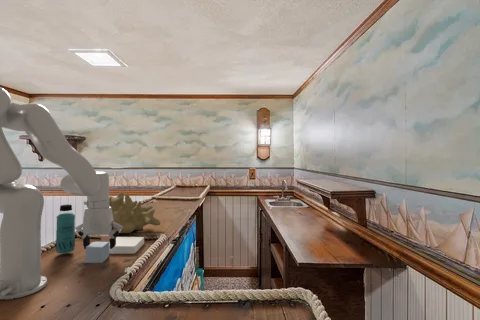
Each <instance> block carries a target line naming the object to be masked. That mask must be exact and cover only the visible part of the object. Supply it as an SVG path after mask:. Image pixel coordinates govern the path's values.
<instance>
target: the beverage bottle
mask: <svg viewBox="0 0 480 320" xmlns="http://www.w3.org/2000/svg"><path fill="white" fill-rule="evenodd" d="M72 210H73V205H72V204H62V205H60V206H59V212H60V213H59V214H58V215H57V216H56V230H55V232H56V233H55V235H56V236H55V251H56V253H57V254H63V255H64V254H68V253H71V252H73V251H75V248H76V241H75V240H76V239H75V237H76V223H75V221H76V220H75V219H76V215H75V214H74V213H73V212H72ZM70 211H71V212H70Z"/></svg>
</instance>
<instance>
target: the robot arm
mask: <svg viewBox="0 0 480 320" xmlns="http://www.w3.org/2000/svg"><path fill="white" fill-rule="evenodd" d="M3 128H4V129H8V130H11V131H15V132H24V133H25V134H26V135H27V136H28V138H29V139H30V140H31V143H32V144H33V145H34V147H35V148H36V150H37V151H38V153H39V155H41V156H42V157H43V158H44V159H46V160H47V161H49V162H51V163H52V164H54V165H56V166H58V167H60V168H61V169H63V170H64V171H65V172H67V173H68V174H66V175H65V176H63V177H62V179H61V180H60V188H61V190H62V191H63V192H65V193H66V194H69V195H76V196H84V197H86V200H85V201H84V202H83V205H86V208H84V211H83V220H82V223H81V224H79V225H77V226H75V231H76V232H77V234H78V235H79V236H80V237H81V239H82V244H83V245H82V246H83V249H84V250H86V247H87V246H88V245H90V244H91V237H90V236H101V235H107V234H108V235H109V236H110V237H111V238H110V249H112V248H113V247H115V245H116V237H118V235H120V234H119V233H120V231H121V229H122V227H123V226H121V225H119V224H117V223H115V222H114V218H113V212H112V208H111V207H110V206H109V197H110V180H109V179H110V178H109V176H110V175H109V174H108V173H107V172H106V171H96V170H95V169H94V166H93V165H92V164H91V163H90V161H89V160H88V159H86V157H85V156H84V155H82V154H81V153H80V152H79V151H78V150H77V149H76V148H75V147H73V146H72V145H71V144H70V143H69V141H68V139H67V138H66V136H65V135H64V133H63V131H62V130H61V129H60V127H59V125H58V124H57V122H56V120H55V119H54V117H53V116H52V114H51V112H50V111H49V109H48V108H46V107H45V106H44V105H42V104H38V103H24V104H23V103H22V104H20V103H16V102H13V101H12V98H11V95H10V93H9V92H8V91H7V90H6V89H4V88H3V87H1V86H0V214H2V220H1V224H0V300H3V299H4V300H14V298H15V299H19V298H22V297H26V296H29V295H32V294H34V293H36V292H37V293H38V292H39V291H40V290H42V289H44V288H45V287H46V286H47V284H48V279H47V277H46V276H43V275H42V234H41V233H42V232H41V231H42V227H41V226H42V215H43V212H44V211H43V210H44V207H45V206H44V205H45V198H44V195H43V193H42V191H41V190H40V189H39V188H37V187H35V186H33V185H31V184H26V183H17V181H18V180H19V179H20V178H21V176H22V173H23V167H22V164H21V161H20V160H19V158H18V156H17V155H16V153H15V151H14V150H13V148H12V146H11V145H10V143H9V141H8V140H7V138H6V135H5V134H4V131H3ZM114 227H115V228H117V231H116V232H115V231H114Z"/></svg>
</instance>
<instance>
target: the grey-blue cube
mask: <svg viewBox="0 0 480 320" xmlns="http://www.w3.org/2000/svg"><path fill="white" fill-rule="evenodd" d="M109 257H110V254H109V242H101V241H93V242H90V245H88V246H87V247H86V249H85V263H87V264H102V263H104V262H105V261H106V260H107V259H108V258H109Z"/></svg>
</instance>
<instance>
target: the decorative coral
mask: <svg viewBox="0 0 480 320" xmlns="http://www.w3.org/2000/svg"><path fill="white" fill-rule="evenodd" d="M124 200H125V201H124ZM109 206H110V207H111V208H112V212H113V218H114V222H115V223H117V224H119V225H121V226H123V227H122V229H121V231H120V233H121V234H129V233H133V232H134V231H142V230H144V227H145V226H147V225H153V226H160V225H161V221H160V219H157V218H156V217H154V214H155V212H156V209H155V208H153V205H148V206H142V201H140V200H139V201H138V200H135V201H133V200H132V198H131V197H130V195H129V194H127V193H126V194H124V192H123V191H122V190H121V191H120V192H118V194H117V195H116V197H113V195H109ZM114 231H115V232H116V231H117V228H115V227H114Z"/></svg>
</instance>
